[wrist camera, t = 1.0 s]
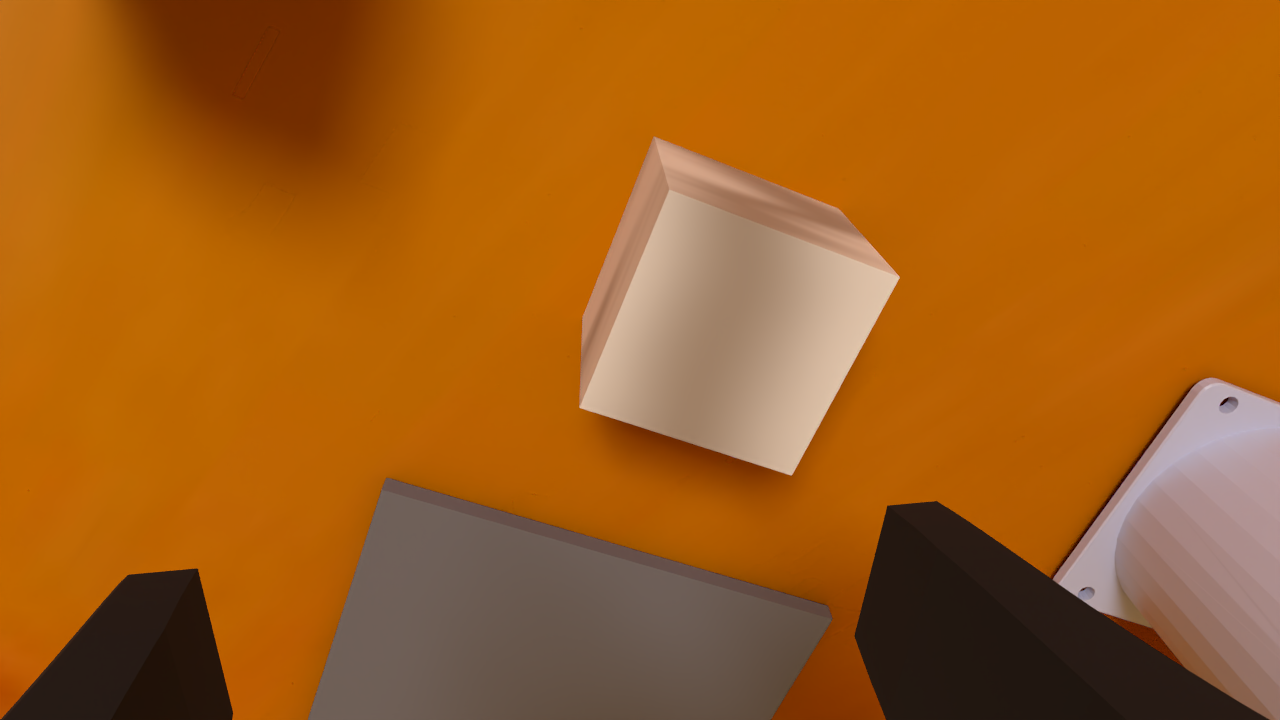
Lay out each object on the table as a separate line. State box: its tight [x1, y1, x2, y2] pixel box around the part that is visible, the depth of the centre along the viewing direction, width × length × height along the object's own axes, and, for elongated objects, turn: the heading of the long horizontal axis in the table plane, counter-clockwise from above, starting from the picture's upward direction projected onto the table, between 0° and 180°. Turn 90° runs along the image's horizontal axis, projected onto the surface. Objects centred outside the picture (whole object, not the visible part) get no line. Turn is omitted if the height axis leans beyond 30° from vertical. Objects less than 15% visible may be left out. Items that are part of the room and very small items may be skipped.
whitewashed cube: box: [580, 137, 900, 476], centre depth 20 cm, size 5×5×5 cm
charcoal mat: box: [308, 478, 832, 720], centre depth 28 cm, size 14×12×1 cm
